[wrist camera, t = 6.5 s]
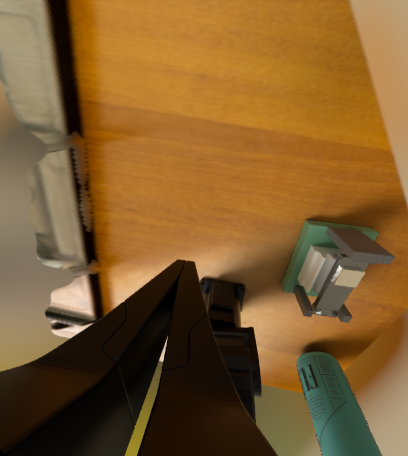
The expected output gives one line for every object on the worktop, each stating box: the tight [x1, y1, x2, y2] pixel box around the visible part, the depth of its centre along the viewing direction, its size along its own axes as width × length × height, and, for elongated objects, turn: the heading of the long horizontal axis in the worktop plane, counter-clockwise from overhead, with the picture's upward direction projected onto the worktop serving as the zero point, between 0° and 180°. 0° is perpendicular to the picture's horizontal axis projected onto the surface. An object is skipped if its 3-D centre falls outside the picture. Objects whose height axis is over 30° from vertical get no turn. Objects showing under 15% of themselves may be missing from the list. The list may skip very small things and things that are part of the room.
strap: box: [312, 253, 369, 317], centre depth 19 cm, size 8×2×1 cm, turn 176°
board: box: [281, 220, 395, 323], centre depth 20 cm, size 10×7×6 cm
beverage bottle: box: [296, 352, 382, 456], centre depth 22 cm, size 6×7×20 cm
